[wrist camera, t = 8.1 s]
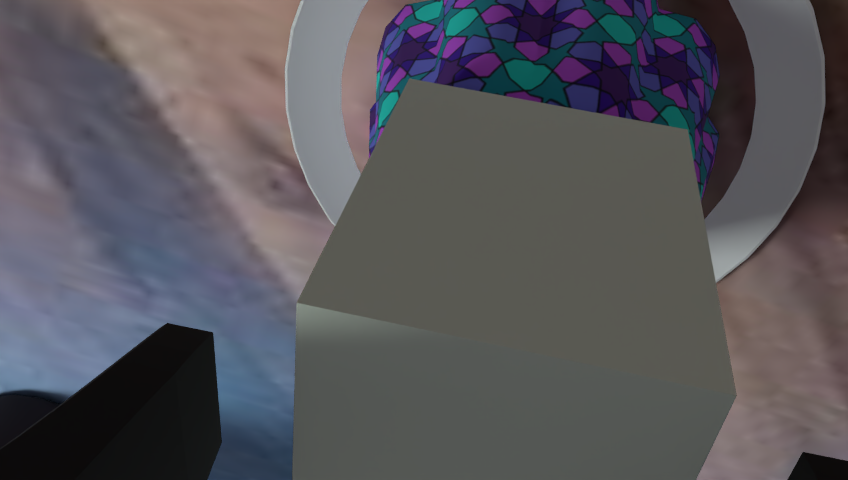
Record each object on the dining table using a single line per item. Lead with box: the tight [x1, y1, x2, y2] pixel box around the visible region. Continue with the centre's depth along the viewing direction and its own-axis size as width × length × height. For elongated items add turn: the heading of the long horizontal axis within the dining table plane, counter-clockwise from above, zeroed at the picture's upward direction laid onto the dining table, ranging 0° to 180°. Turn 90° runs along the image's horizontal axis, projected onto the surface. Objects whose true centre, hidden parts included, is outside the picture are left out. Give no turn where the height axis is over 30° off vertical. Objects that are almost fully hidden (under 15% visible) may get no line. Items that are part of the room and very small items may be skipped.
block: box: [292, 79, 737, 480], centre depth 12 cm, size 5×5×6 cm
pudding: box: [285, 0, 825, 283], centre depth 17 cm, size 12×12×5 cm
